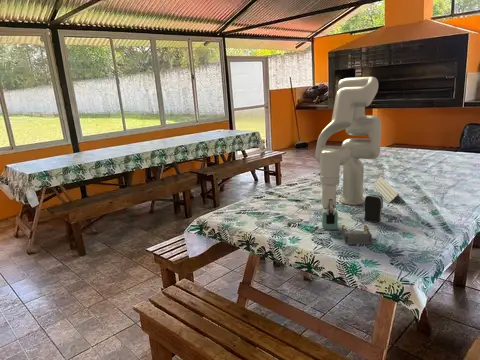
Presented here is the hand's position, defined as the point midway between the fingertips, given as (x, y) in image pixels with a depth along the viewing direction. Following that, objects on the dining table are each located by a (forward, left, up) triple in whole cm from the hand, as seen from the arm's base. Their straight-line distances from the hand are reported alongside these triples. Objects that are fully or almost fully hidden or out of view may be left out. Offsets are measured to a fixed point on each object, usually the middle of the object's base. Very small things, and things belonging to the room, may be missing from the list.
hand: (329, 219), depth 148 cm
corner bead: (-45, +34, -5) cm, 57 cm away
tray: (+11, +9, -4) cm, 14 cm away
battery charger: (-8, +19, -4) cm, 21 cm away
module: (0, 0, -4) cm, 4 cm away
